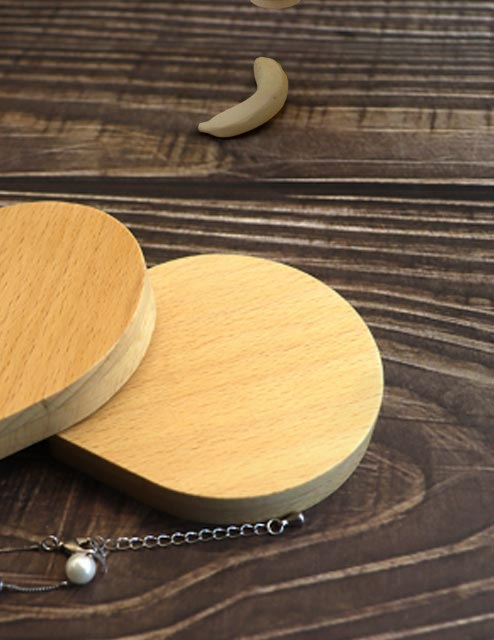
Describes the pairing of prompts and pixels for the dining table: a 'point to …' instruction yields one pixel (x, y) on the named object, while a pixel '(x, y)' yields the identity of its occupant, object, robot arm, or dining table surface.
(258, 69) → the fruit
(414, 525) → the dining table surface
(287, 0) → the paper roll
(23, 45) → the dining table surface
